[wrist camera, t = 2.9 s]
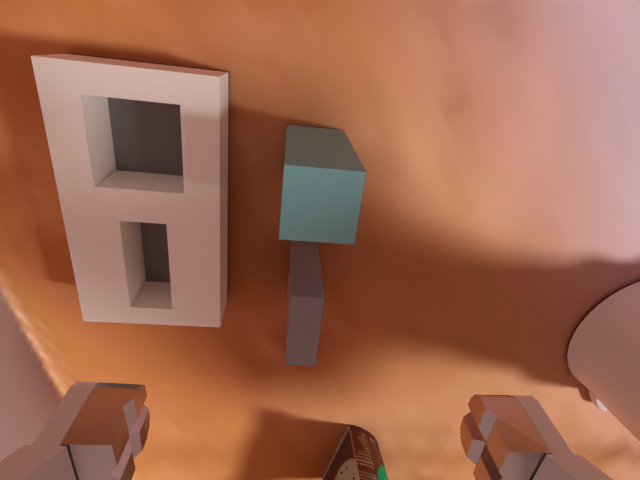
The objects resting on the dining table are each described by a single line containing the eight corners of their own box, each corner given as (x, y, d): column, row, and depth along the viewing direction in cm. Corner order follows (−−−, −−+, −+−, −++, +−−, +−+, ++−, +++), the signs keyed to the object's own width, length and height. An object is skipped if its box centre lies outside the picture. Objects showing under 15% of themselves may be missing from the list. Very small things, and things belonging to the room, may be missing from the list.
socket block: (229, 71, 26) (219, 76, 22) (227, 297, 34) (220, 327, 30) (68, 53, 25) (30, 55, 21) (106, 290, 33) (83, 321, 29)
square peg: (343, 130, 28) (366, 172, 19) (335, 183, 30) (354, 244, 21) (286, 124, 28) (284, 164, 19) (283, 178, 29) (278, 239, 20)
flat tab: (316, 232, 32) (325, 298, 24) (310, 289, 34) (315, 366, 26) (292, 230, 31) (291, 296, 23) (287, 288, 34) (285, 365, 26)
